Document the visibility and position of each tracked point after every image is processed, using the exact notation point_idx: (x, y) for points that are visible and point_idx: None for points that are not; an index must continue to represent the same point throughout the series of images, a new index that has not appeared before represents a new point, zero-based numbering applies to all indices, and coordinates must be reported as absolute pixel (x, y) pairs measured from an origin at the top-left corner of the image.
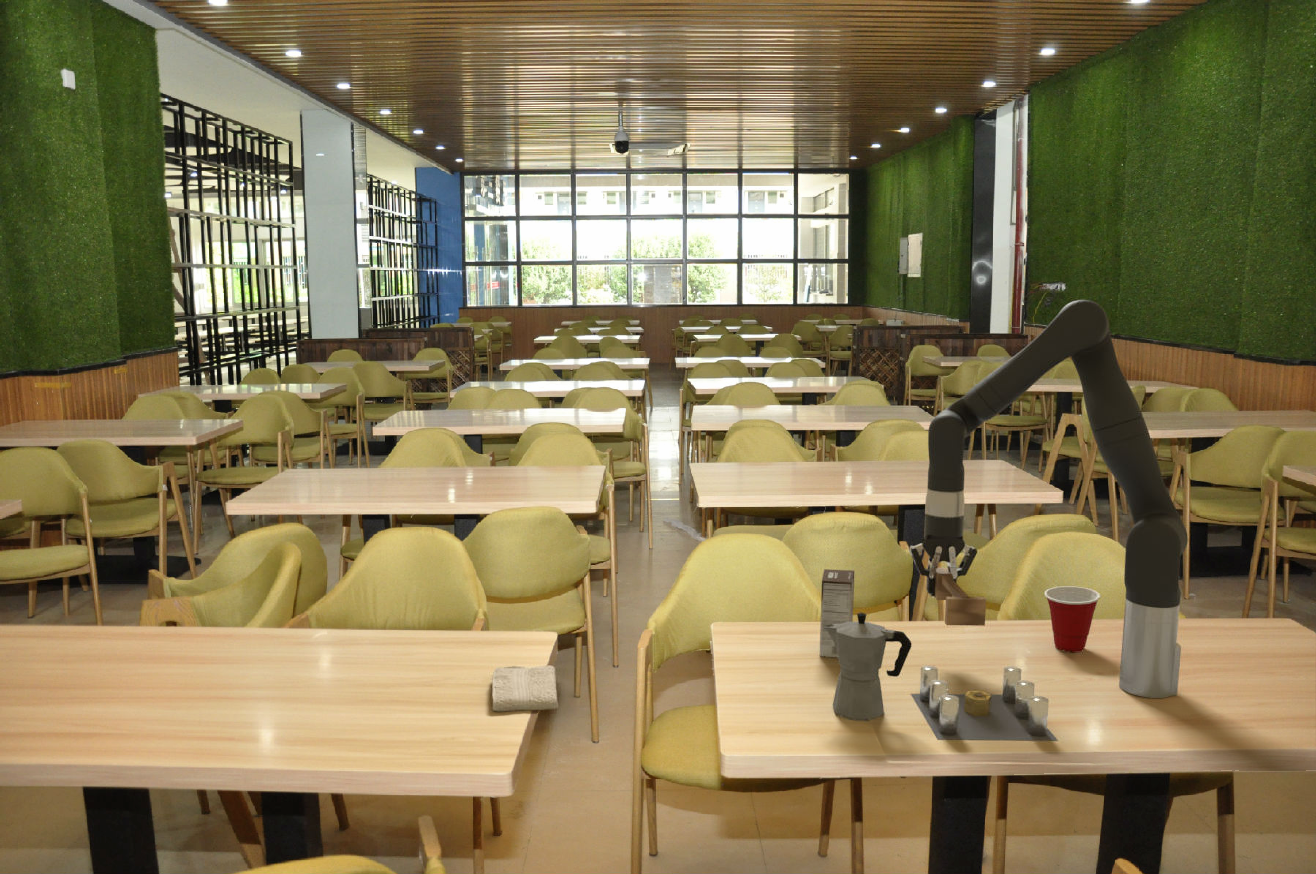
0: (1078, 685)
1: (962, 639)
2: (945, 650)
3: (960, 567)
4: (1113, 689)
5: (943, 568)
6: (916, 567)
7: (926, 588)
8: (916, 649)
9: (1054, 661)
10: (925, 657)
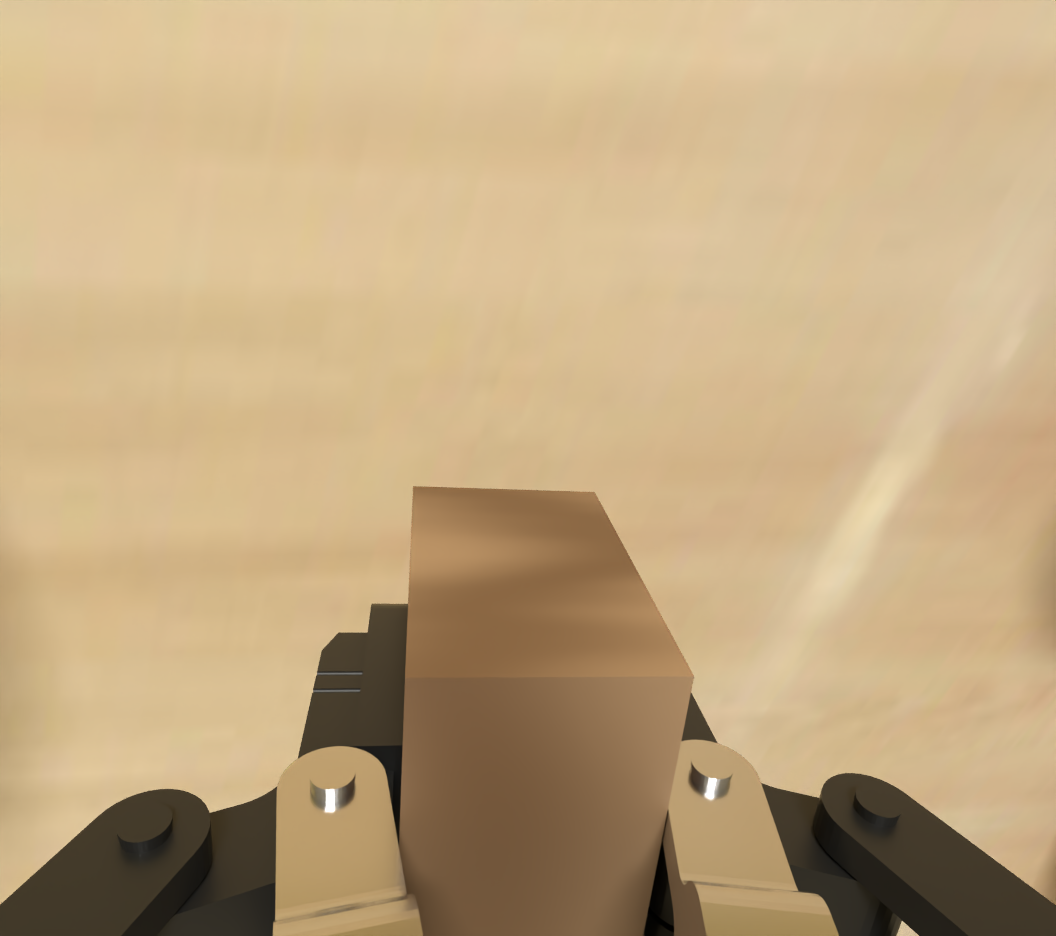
0: (950, 758)
1: (740, 90)
2: (543, 314)
3: (882, 885)
4: (1051, 785)
5: (629, 724)
6: (35, 882)
7: (321, 655)
8: (358, 289)
9: (1042, 495)
10: (380, 434)
